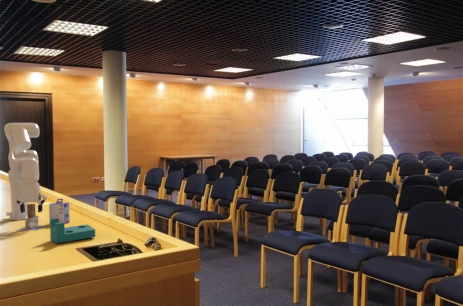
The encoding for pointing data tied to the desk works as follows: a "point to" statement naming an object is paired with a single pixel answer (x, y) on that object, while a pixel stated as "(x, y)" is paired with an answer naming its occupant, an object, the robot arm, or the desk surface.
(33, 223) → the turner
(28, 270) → the desk surface
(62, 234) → the teal l-shaped bracket
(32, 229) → the tool mat
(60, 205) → the ink cartridge box
